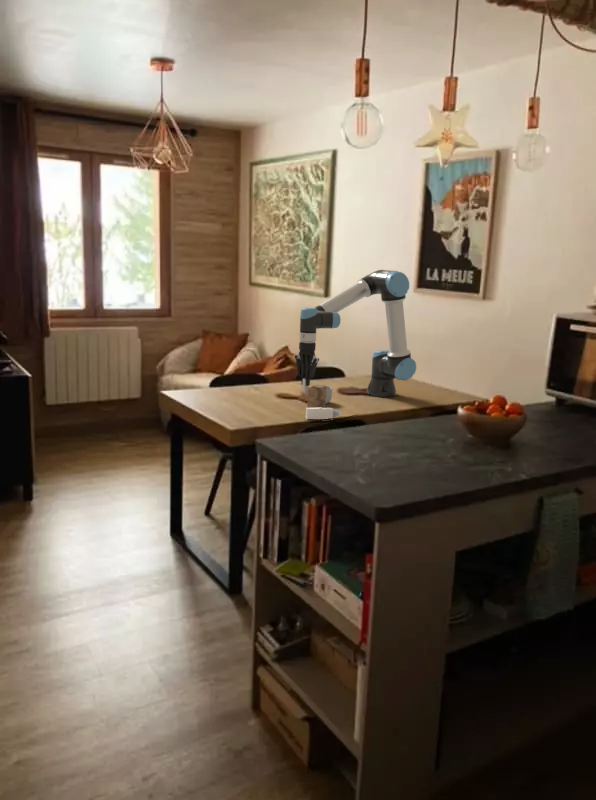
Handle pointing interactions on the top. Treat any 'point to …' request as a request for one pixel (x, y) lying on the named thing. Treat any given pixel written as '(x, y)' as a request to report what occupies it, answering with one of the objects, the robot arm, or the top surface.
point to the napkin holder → (319, 413)
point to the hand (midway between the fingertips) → (305, 392)
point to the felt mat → (335, 412)
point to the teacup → (328, 393)
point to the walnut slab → (316, 396)
